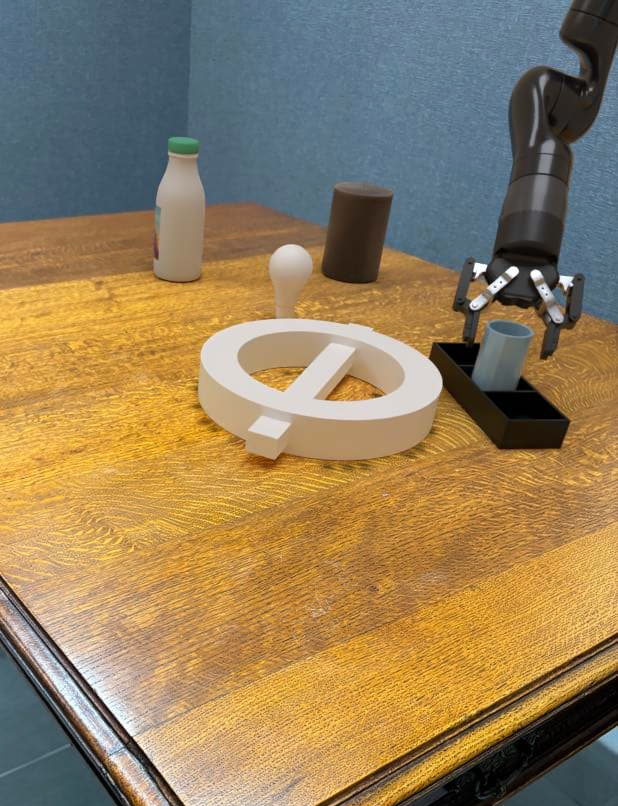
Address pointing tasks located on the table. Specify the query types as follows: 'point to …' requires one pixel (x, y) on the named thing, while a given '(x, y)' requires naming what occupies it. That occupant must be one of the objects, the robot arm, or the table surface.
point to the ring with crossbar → (317, 389)
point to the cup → (501, 355)
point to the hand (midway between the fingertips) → (507, 351)
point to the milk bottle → (180, 215)
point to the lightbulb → (289, 277)
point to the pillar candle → (356, 232)
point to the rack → (499, 403)
